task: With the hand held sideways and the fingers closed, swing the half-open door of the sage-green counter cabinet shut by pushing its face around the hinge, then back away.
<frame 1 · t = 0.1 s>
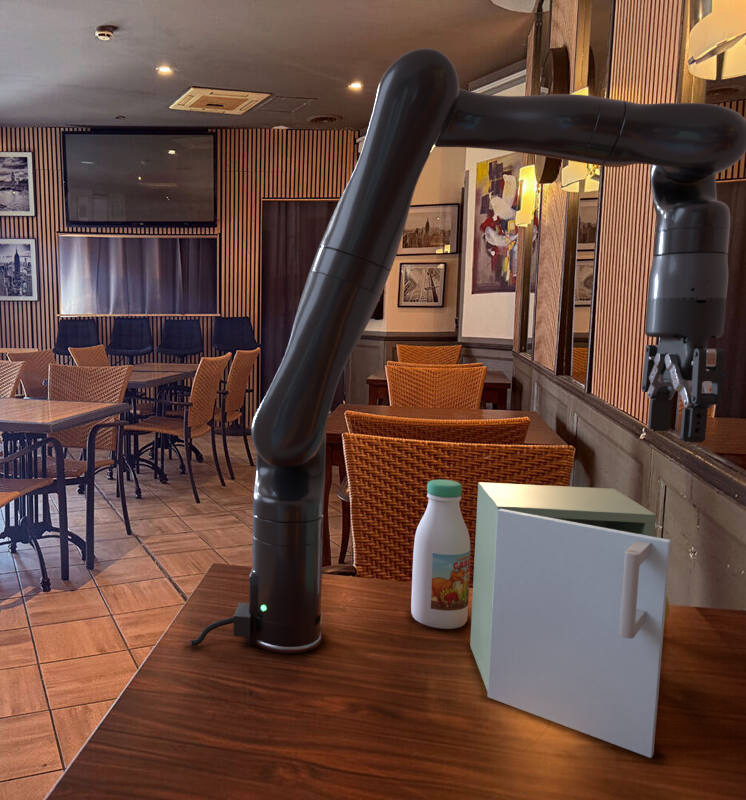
hand: (674, 435, 81), 29 cm above the table, tool pointing down, fingers open, 8 cm apart
cabinet door: (563, 633, 70), point 11 cm above the table, hinge at 32.0°
milk bottle: (438, 620, 99), on the table
cabinet: (548, 674, 84), on the table
lemon: (642, 634, 95), on the table
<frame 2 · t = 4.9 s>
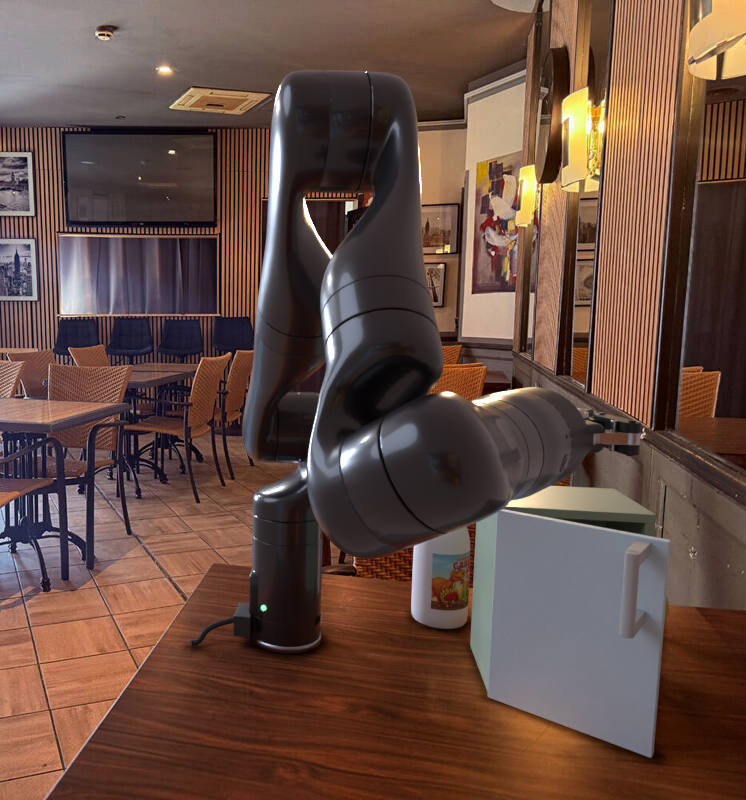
hand: (584, 420, 62), 34 cm above the table, tool horizontal, fingers closed
nothing on the table moved.
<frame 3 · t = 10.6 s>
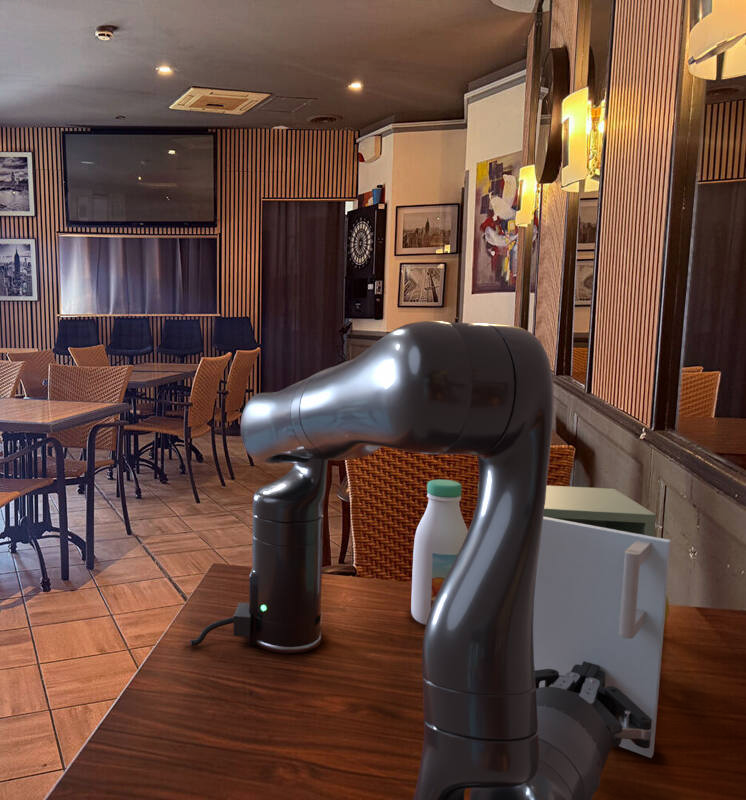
hand: (591, 672, 70), 7 cm above the table, tool horizontal, fingers closed
cabinet door: (563, 633, 70), point 11 cm above the table, hinge at 32.0°, touching gripper
everything else where it was.
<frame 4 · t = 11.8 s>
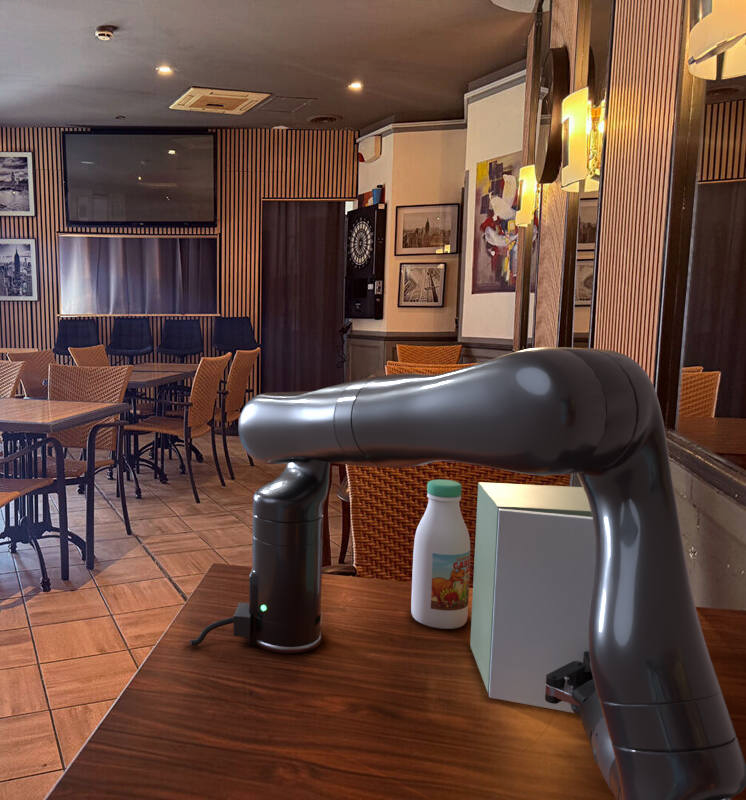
hand: (595, 656, 74), 7 cm above the table, tool horizontal, fingers closed
cabinet door: (577, 624, 72), point 11 cm above the table, hinge at 9.5°, touching gripper
everything else where it was.
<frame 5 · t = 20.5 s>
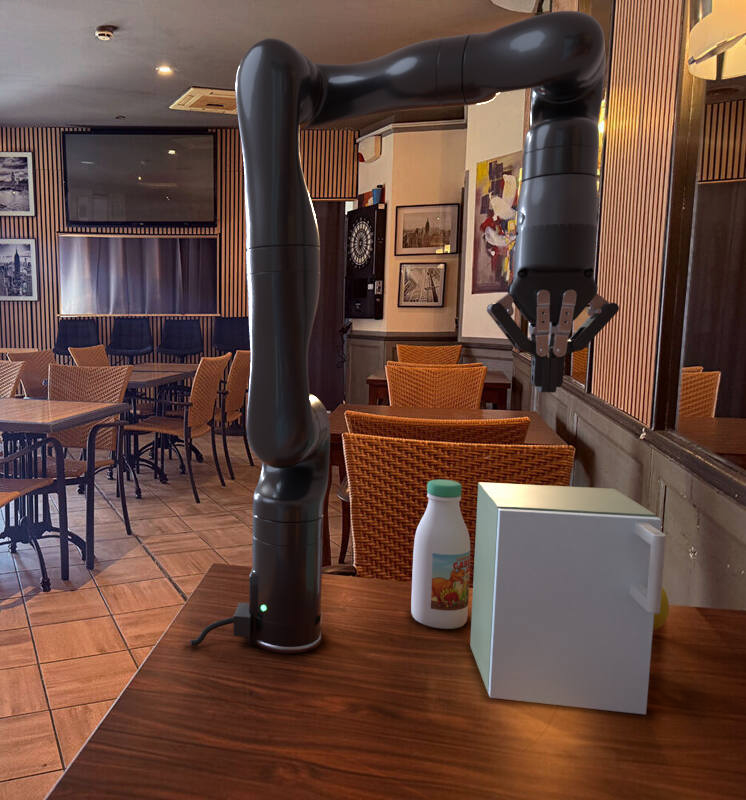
hand: (545, 391, 74), 35 cm above the table, tool pointing down, fingers closed
cabinet door: (578, 620, 73), point 11 cm above the table, hinge at 0.5°
everything else where it was.
at the end: cabinet door at +0° (first picture: +32°) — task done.
